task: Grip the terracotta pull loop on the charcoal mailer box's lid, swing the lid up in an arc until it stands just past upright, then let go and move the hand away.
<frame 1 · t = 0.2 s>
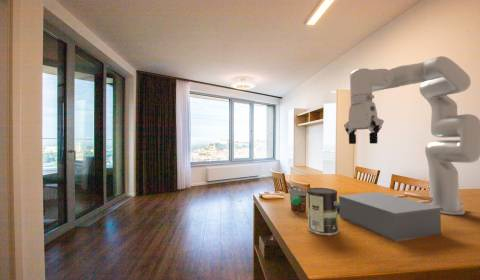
hand: (362, 143, 84), 31 cm above the table, tool pointing down, fingers open, 9 cm apart
food container: (295, 210, 100), on the table
lid: (392, 199, 81), point 9 cm above the table, hinge at 0.0°
mailer box: (384, 224, 80), on the table
disk drive: (331, 211, 100), on the table
coffee can: (322, 230, 76), on the table
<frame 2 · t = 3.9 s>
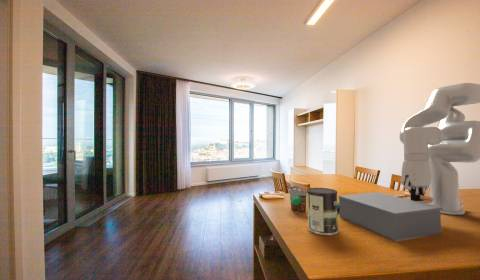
hand: (417, 203, 85), 6 cm above the table, tool pointing down, fingers closed on lid
lid: (392, 199, 81), point 9 cm above the table, hinge at 0.0°, touching gripper
everything else where it was.
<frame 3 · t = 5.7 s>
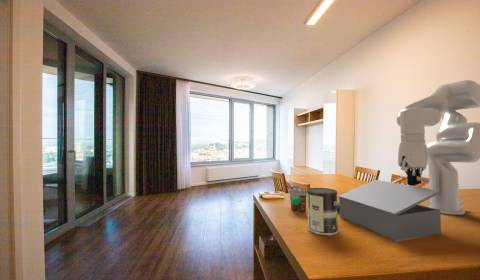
hand: (414, 184, 85), 14 cm above the table, tool pointing down, fingers closed on lid
lid: (390, 189, 81), point 13 cm above the table, hinge at 15.9°, touching gripper
everything else where it was.
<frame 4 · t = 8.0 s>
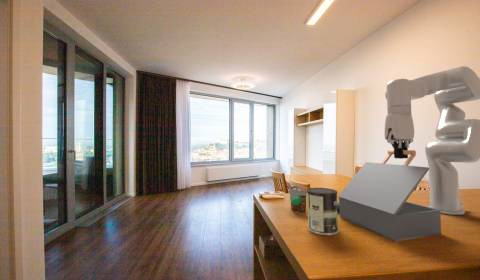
hand: (401, 157, 83), 25 cm above the table, tool pointing down, fingers closed on lid
lid: (382, 176, 80), point 18 cm above the table, hinge at 42.3°, touching gripper
everything else where it was.
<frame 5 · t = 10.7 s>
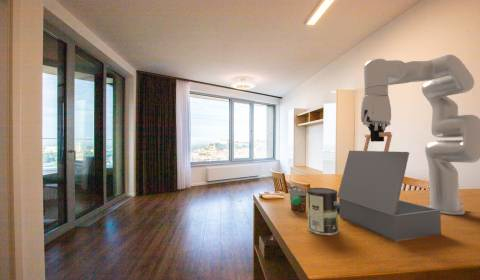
hand: (377, 141, 80), 32 cm above the table, tool pointing down, fingers closed on lid
lid: (369, 168, 79), point 22 cm above the table, hinge at 70.8°, touching gripper
everything else where it was.
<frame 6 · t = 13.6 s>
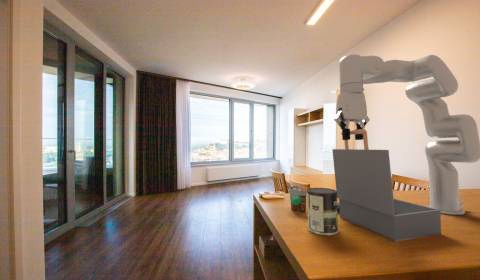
hand: (352, 139, 77), 32 cm above the table, tool pointing down, fingers open, 4 cm apart
lid: (356, 167, 77), point 22 cm above the table, hinge at 94.9°
everything else where it was.
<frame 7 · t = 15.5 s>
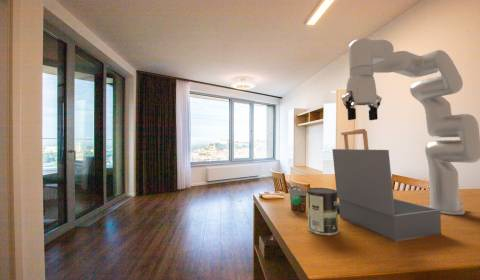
hand: (362, 119, 79), 40 cm above the table, tool pointing down, fingers open, 9 cm apart
nothing on the table moved.
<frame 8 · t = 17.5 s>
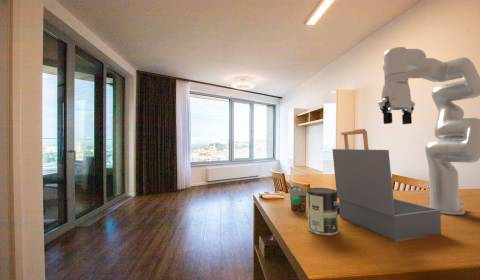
hand: (397, 123, 83), 38 cm above the table, tool pointing down, fingers open, 9 cm apart
nothing on the table moved.
at the end: lid at +95° (first picture: +0°); the gripper is holding nothing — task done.
